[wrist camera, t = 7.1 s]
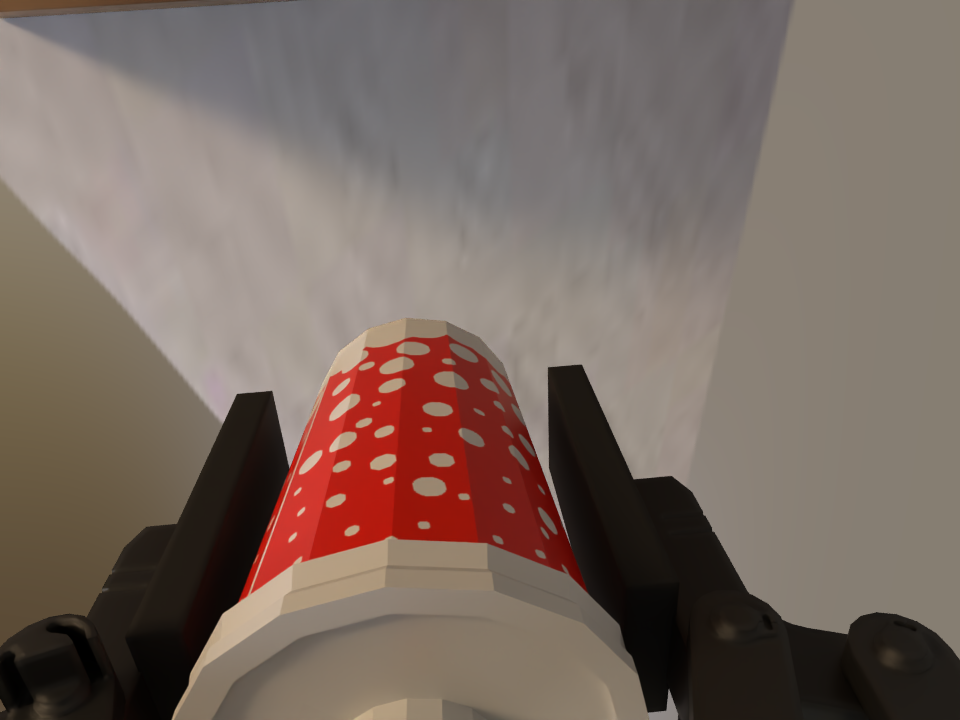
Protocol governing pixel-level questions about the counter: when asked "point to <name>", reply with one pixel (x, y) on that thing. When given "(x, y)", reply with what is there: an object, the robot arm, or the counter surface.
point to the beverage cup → (415, 560)
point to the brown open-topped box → (101, 6)
